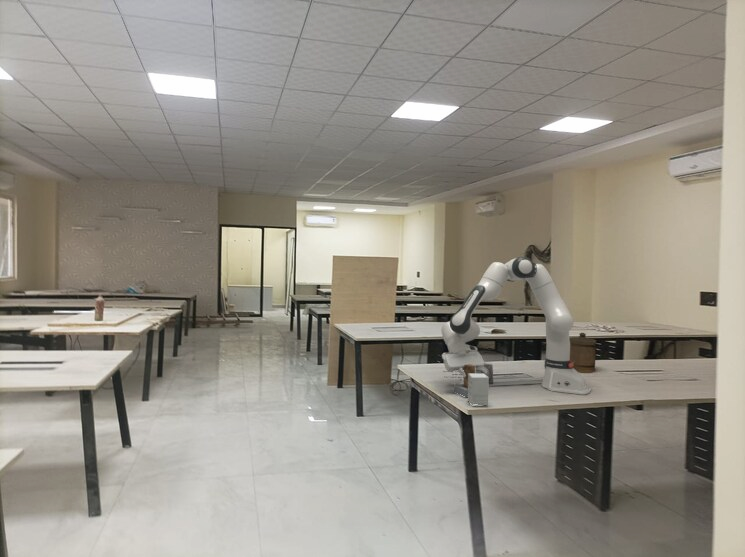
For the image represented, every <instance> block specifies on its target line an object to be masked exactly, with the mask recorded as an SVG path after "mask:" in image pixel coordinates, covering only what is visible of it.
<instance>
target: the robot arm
mask: <svg viewBox="0 0 745 557" xmlns="http://www.w3.org/2000/svg"><path fill="white" fill-rule="evenodd" d="M550 274H551V273H550V272H549V271H548V270H547V268H546V267H545V266H544V265H543V264H541V263H535V262H534V261H533V260H532V259H531V258H529V257H526V256H518V257H515V258H513V259H511V260H508V261H507V262H505V263H502V262H498V261H494V262H492V263H491V264H490V265H489V266H488V267H487V269H486V271H485V272H484V274H483V275H482V277H481V279H480V281H479V282H478V284H477V285H475V286H474V287H473V289H472V290H471V291H470V292H469V294H468V295H467V297H466V298H465V300H464V302H463V303H462V304H461V306H460V307H459V308H458V310H457V311H456V312H455V313H454V314H453V315H452V316H451V317H450V320H449V321H447V322H445V323H444V324H443V325H442V326H441V331H440V332H441V335H442V339H443V341H444V343H445V345H446V346H447V350H448V352H443V353H442V354H441V359H442V360H443V362H444V363H443V364H444V368H445V371H446V372H447V371H449V372H451V371H452V372H453V371H454V372H456V371H458V372H457V373H458V374H460V376H461V377H462V378H463V379H464V378H466V377H467V373H465V372H464V365H469V364H471V365H474V366H475V374H476V369H481V368H482V367H483V366H484V364H485V363H486V362H485V360H484V359H483V356H482V354H480V352H479V351H478V348H477V346H474V345H470V344H467V343H469V342H471V341H473V340H475V339H477V338H478V336H479V335H480V331H481V329H480V326H479V324H478V323H476V321H474V320H473V319H472V315H473V313H474V311H476V309H477V307H478V305H479V304H480V303H481V302H482V301H484V300H485V301H492V300H495V299H496V298H498V296H499V295H500V293H501V292H502V290H503V288H504V285H505V283H506V282H512V283H513V282H519V281H522V280H525V281H526V282H527V283H528V284H529V287H530V289H531V291H532V294H533V295H534V297H535V299H536V302H537V304H538V306H539V307H540V309H541V311H542V314H543V315H544V317H545V336H546V338H545V340H546V346H545V347H546V348H545V349H546V350H545V358H544V375H543V379H542V382H541V387H542V388H544V389H547V390H549V391H551V392H558V393H567V394H575V395H582V396H583V395H589V394H590V393H591V388H590V387H589V386H587V385H586V378H585V377H584V376H583V375H582V374H581V372H577V371H576V370H575V369H574V362H572V361H571V360H570V340H569V338H570V331H571V330H572V329H573V326H574V318H573V316H572V315H571V312H570V310H569V309H568V307H567V305H566V303H565V301H564V300H563V299H562V296H561V294H560V292H559V290H558V289H557V286H556V284H555V282H554V280H553V278H552V276H551V275H550Z"/></svg>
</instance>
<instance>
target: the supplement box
mask: <svg viewBox="0 0 745 557" xmlns="http://www.w3.org/2000/svg"><path fill="white" fill-rule="evenodd" d="M489 384H490V383H489V377H488V376H486V375H485V374H474V373H468V398H467V402H468V401H469V402H470V403H471V404H472V405H473V404H478V405H488V406H489V388H490V387H489V386H490V385H489ZM469 402H468V403H469Z"/></svg>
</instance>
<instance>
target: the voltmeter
mask: <svg viewBox="0 0 745 557" xmlns="http://www.w3.org/2000/svg"><path fill="white" fill-rule="evenodd" d="M484 363H485V364H484V366H483V367H482V368H481V369H476V374H485V375H486V376H488V377H489V384H494V369H493V368H494V367H493V365H494V364H493V363H487V362H484ZM441 364H444V361H443V362H441ZM442 372H443V373H447V372H448V373H452V374H451V375H452V376H449V378H450V379H453V378H455V379H456V378H457V379H458V381H462V378H463V376H461V374H460V373H459V372H458V370H456V371H447V370H443V371H442ZM454 375H455V376H454ZM443 378H448V376H444V377H443Z"/></svg>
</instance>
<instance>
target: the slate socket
mask: <svg viewBox="0 0 745 557" xmlns="http://www.w3.org/2000/svg"><path fill="white" fill-rule="evenodd" d="M454 392H456V393H458V394H461V395H463V396H465V397H468V389H467V388H465V387H464V383H461V384H460V383H459V384H453V393H454ZM456 393H455V394H456ZM458 394H457V395H458ZM463 396H462V397H463ZM465 397H464V398H465Z"/></svg>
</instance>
